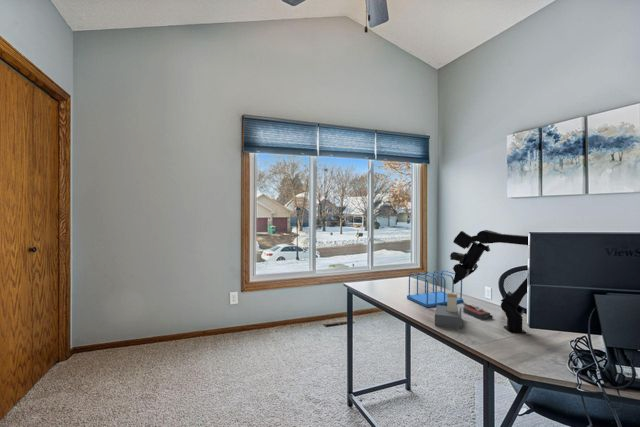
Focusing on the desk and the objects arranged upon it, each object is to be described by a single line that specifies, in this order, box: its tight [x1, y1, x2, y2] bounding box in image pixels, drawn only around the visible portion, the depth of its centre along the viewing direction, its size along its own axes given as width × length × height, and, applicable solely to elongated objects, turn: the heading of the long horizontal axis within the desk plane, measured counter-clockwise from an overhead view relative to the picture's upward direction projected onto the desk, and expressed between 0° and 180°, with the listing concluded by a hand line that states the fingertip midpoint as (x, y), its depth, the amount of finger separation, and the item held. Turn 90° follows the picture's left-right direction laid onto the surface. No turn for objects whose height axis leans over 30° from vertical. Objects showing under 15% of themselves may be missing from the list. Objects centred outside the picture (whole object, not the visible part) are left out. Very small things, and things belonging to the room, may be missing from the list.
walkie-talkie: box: [463, 303, 494, 320], centre depth 162 cm, size 9×4×20 cm
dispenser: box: [434, 305, 463, 330], centre depth 150 cm, size 11×14×6 cm
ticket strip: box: [446, 292, 458, 313], centre depth 149 cm, size 4×1×13 cm, turn 67°
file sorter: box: [406, 270, 464, 308], centre depth 182 cm, size 25×17×15 cm
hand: (456, 281), depth 154 cm, fingers open, 9 cm apart
